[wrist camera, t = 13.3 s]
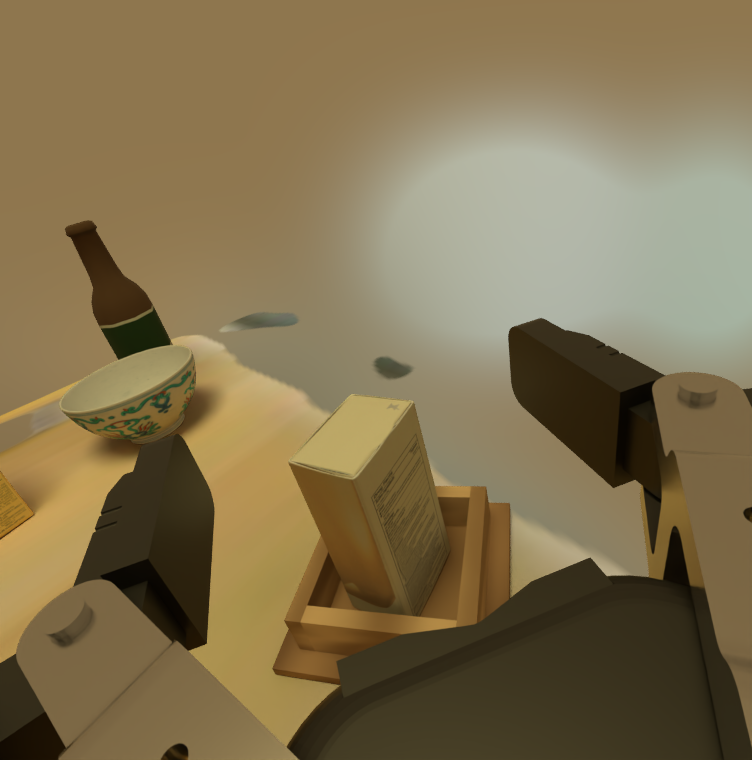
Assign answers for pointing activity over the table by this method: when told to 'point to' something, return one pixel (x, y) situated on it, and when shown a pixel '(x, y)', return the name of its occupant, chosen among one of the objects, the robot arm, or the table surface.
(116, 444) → the table surface
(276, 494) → the table surface
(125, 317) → the beer bottle
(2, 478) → the candy box
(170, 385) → the chinaware
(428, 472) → the skincare box
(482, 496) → the holder
